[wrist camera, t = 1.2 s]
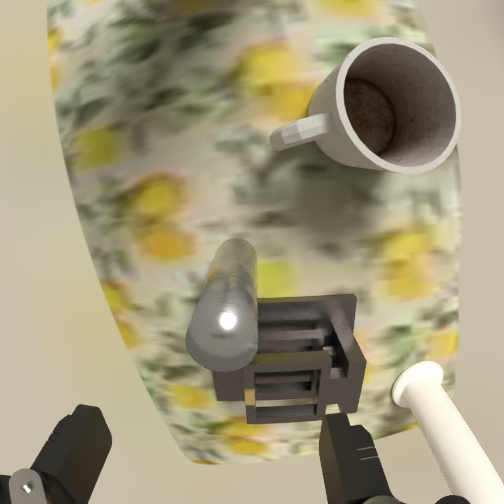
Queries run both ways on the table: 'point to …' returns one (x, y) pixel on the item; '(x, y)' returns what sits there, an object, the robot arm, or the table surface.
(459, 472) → the candle
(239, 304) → the tube
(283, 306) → the bracket
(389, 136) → the mug
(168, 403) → the table surface
